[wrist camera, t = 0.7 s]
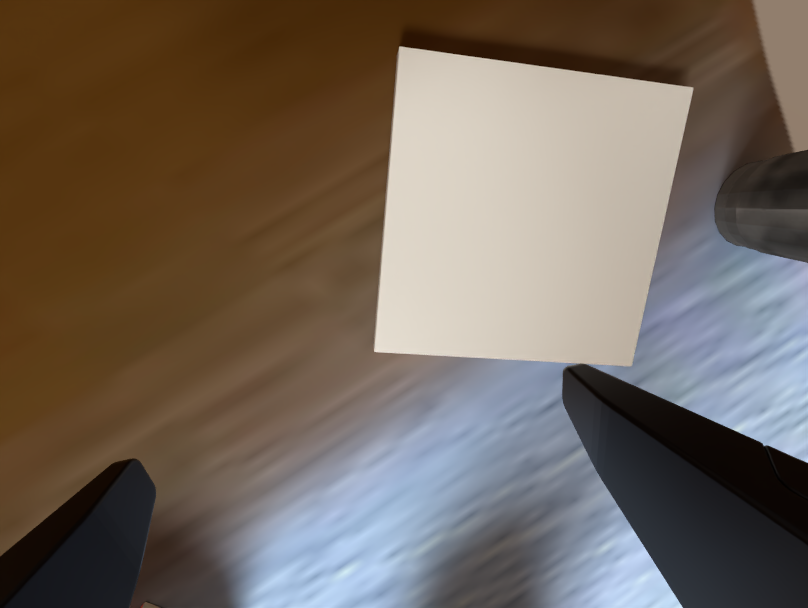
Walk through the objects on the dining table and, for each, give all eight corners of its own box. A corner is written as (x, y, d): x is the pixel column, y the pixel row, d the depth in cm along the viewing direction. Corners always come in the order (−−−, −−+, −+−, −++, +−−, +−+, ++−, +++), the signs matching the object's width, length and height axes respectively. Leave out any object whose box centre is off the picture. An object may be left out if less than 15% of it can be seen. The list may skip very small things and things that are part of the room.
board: (618, 358, 24) (631, 366, 23) (373, 344, 23) (374, 351, 22) (675, 93, 21) (693, 87, 20) (397, 55, 20) (399, 46, 19)
